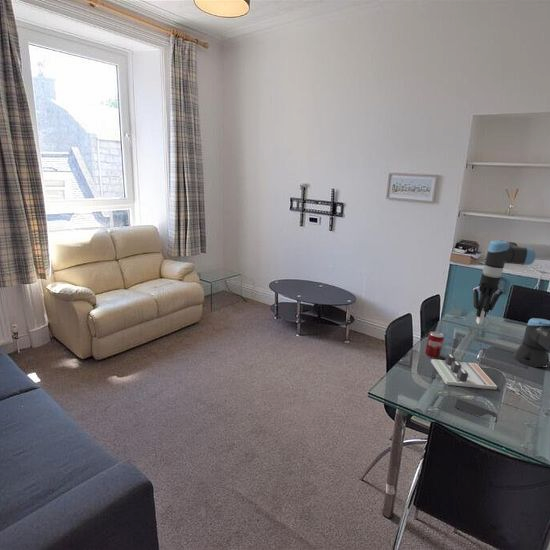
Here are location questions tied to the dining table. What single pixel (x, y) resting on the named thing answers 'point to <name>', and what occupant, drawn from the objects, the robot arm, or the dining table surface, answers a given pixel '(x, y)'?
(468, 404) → the smartphone
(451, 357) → the block
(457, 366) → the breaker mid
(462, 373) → the block
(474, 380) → the panel
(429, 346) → the soda can
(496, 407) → the dining table surface
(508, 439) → the dining table surface
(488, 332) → the dining table surface
